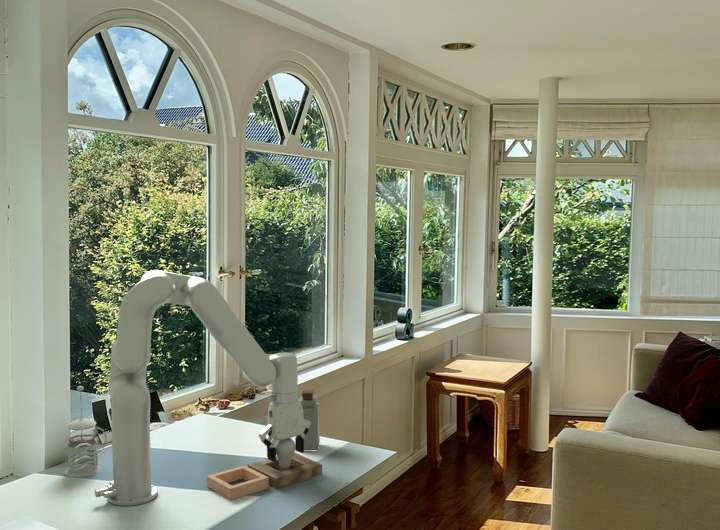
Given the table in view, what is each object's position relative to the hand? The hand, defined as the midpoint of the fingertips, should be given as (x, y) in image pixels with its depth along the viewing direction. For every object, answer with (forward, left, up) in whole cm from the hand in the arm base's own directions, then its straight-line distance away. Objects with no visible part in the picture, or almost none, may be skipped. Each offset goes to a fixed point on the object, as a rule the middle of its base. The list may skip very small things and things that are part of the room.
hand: (285, 455), depth 205 cm
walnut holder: (0, 0, -6) cm, 6 cm away
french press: (-41, +41, -6) cm, 59 cm away
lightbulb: (0, 0, -6) cm, 6 cm away
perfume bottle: (+19, +14, -6) cm, 24 cm away
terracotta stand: (-15, +1, -6) cm, 16 cm away
